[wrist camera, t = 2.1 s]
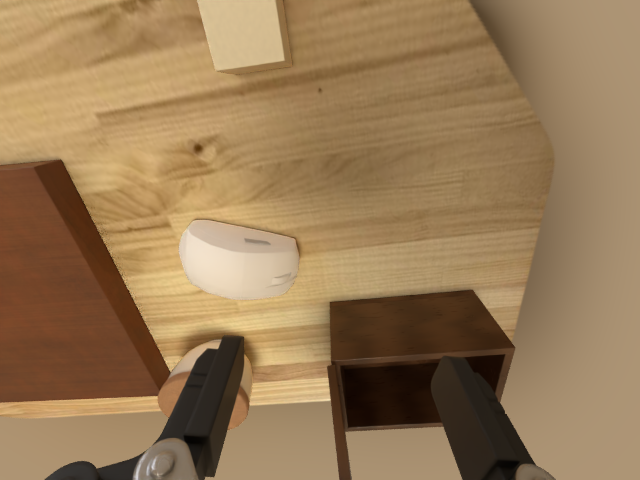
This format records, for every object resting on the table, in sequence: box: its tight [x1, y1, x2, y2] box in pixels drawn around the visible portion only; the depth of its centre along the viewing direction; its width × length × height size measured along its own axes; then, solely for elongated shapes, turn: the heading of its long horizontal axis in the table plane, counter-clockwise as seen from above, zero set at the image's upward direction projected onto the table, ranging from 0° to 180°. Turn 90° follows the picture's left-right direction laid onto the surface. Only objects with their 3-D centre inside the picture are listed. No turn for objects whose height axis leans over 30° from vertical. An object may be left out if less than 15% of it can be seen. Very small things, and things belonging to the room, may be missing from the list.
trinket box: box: [158, 339, 253, 430], centre depth 36 cm, size 11×11×9 cm
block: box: [197, 0, 292, 75], centre depth 21 cm, size 5×5×5 cm
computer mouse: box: [179, 220, 300, 300], centre depth 30 cm, size 6×13×6 cm, turn 78°
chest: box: [330, 290, 515, 432], centre depth 34 cm, size 18×13×9 cm
